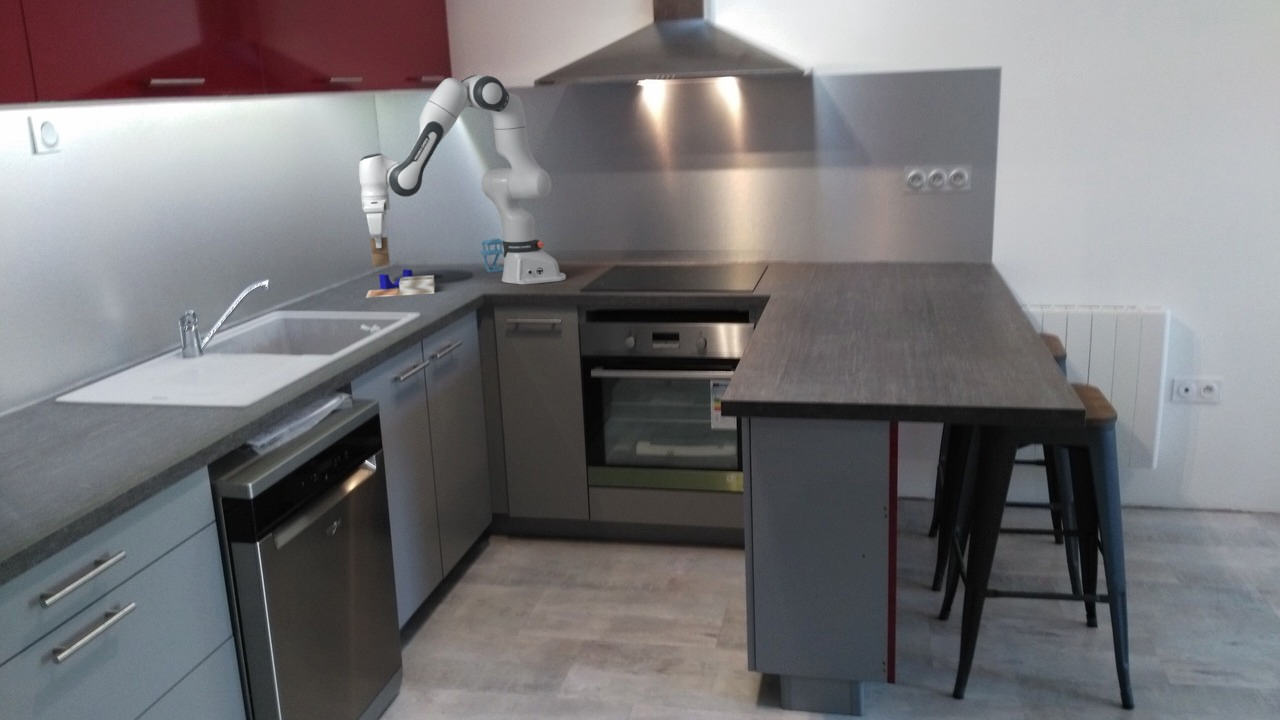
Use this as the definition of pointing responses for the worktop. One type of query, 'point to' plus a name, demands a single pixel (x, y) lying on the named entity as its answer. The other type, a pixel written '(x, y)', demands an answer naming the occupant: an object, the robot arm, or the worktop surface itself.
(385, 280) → the cable clip
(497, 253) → the chair
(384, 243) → the plug
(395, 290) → the board
